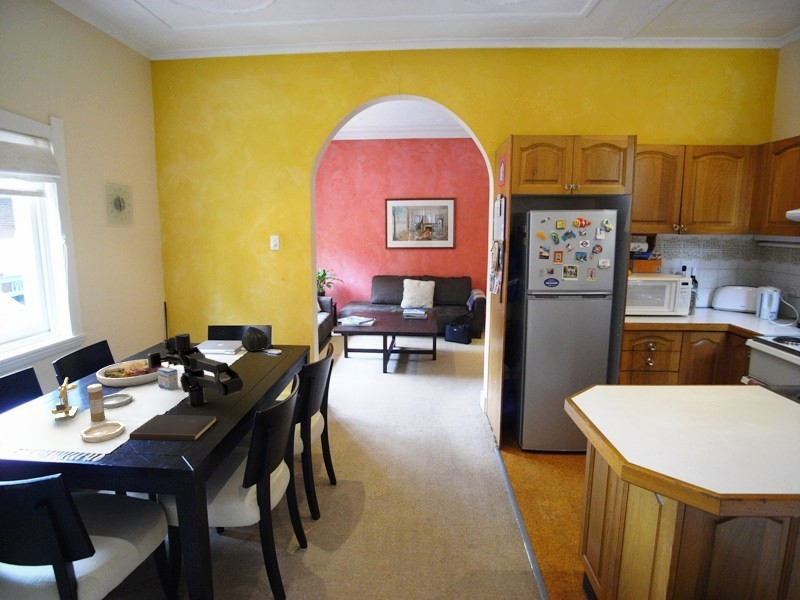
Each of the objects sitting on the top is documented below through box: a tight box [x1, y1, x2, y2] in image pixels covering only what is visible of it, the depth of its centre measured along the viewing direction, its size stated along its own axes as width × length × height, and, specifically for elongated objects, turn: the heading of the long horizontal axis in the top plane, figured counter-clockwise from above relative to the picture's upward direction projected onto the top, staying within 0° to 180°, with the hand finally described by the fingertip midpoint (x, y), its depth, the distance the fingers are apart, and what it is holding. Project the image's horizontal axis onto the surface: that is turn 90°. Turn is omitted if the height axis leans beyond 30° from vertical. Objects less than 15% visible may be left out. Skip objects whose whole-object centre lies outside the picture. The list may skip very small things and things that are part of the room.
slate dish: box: [103, 392, 134, 409], centre depth 178 cm, size 12×12×2 cm
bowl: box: [95, 358, 170, 388], centre depth 209 cm, size 30×30×8 cm
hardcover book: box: [128, 414, 218, 442], centre depth 155 cm, size 16×23×2 cm
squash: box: [241, 326, 269, 352], centre depth 258 cm, size 14×15×15 cm
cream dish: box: [80, 421, 125, 443], centre depth 151 cm, size 12×12×2 cm
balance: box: [51, 377, 79, 422], centre depth 166 cm, size 19×6×13 cm, turn 27°
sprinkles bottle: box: [86, 383, 106, 422], centre depth 161 cm, size 5×5×13 cm
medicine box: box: [157, 367, 179, 391], centre depth 196 cm, size 8×4×9 cm, turn 62°
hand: (162, 354), depth 190 cm, fingers open, 9 cm apart
